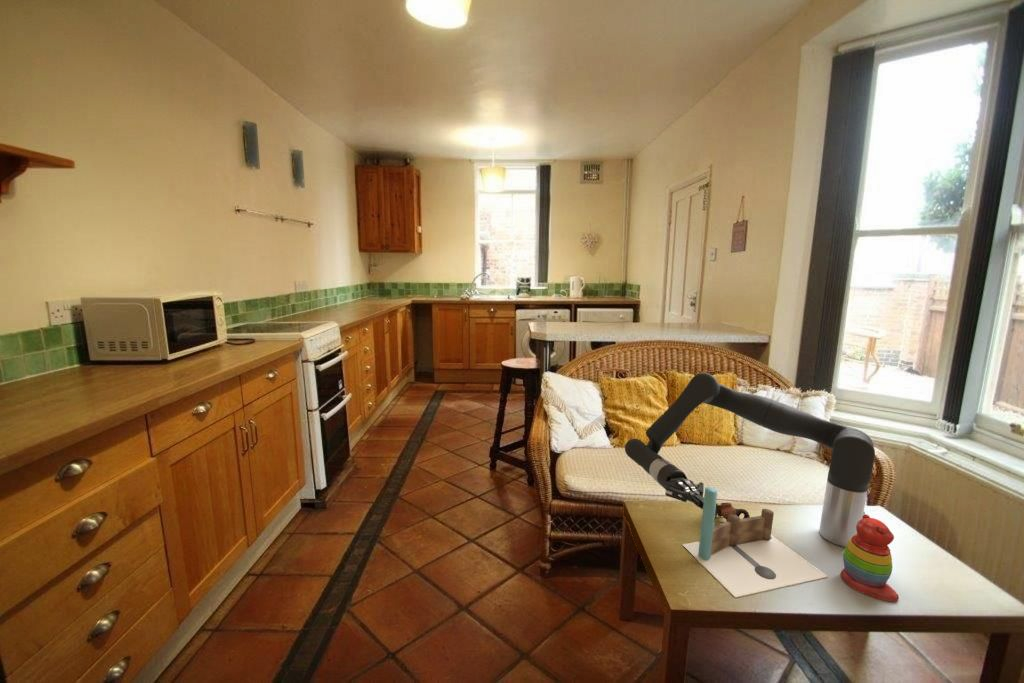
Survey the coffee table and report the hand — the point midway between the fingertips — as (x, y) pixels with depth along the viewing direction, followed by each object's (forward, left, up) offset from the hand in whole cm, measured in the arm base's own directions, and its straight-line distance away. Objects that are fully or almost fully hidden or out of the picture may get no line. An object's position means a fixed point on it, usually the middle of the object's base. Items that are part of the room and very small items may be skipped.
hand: (704, 505), depth 113 cm
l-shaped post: (-4, 0, -14) cm, 15 cm away
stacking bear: (-34, +19, -15) cm, 42 cm away
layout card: (-12, +5, -15) cm, 20 cm away
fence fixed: (-18, -2, -15) cm, 23 cm away
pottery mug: (-18, -10, -15) cm, 25 cm away
